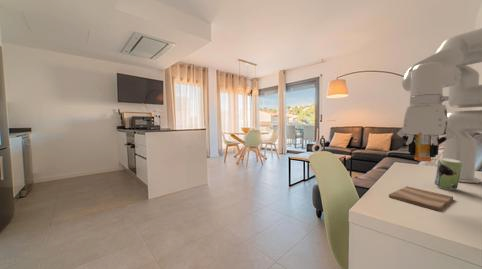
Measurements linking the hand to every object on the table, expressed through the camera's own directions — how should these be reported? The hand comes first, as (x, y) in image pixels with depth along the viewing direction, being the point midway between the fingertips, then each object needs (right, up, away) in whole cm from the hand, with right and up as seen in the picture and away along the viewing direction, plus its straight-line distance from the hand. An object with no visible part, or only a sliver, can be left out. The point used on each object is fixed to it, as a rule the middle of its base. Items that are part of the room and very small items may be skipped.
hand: (422, 155), depth 61 cm
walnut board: (0, -15, +1) cm, 15 cm away
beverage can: (+20, -15, +10) cm, 27 cm away
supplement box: (0, -2, 0) cm, 2 cm away
